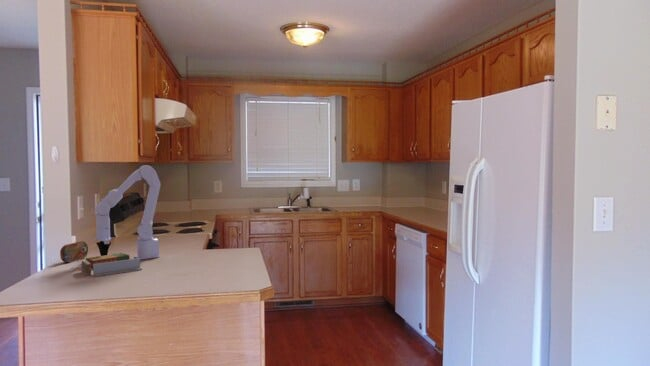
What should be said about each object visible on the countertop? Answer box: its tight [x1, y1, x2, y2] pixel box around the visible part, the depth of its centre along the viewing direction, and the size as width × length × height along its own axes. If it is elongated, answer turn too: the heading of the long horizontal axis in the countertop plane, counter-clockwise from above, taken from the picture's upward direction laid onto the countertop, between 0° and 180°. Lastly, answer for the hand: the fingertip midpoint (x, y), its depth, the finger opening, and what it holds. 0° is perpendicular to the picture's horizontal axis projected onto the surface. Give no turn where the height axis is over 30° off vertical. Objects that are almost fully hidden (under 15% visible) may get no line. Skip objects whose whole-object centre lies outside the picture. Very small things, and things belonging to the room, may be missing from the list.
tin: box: [59, 240, 89, 263], centre depth 210 cm, size 15×3×8 cm, turn 168°
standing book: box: [81, 259, 92, 277], centre depth 186 cm, size 2×9×5 cm, turn 38°
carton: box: [85, 252, 131, 270], centre depth 202 cm, size 8×16×4 cm, turn 140°
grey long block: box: [92, 258, 143, 277], centre depth 188 cm, size 18×3×4 cm, turn 128°
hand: (103, 257), depth 209 cm, fingers closed
